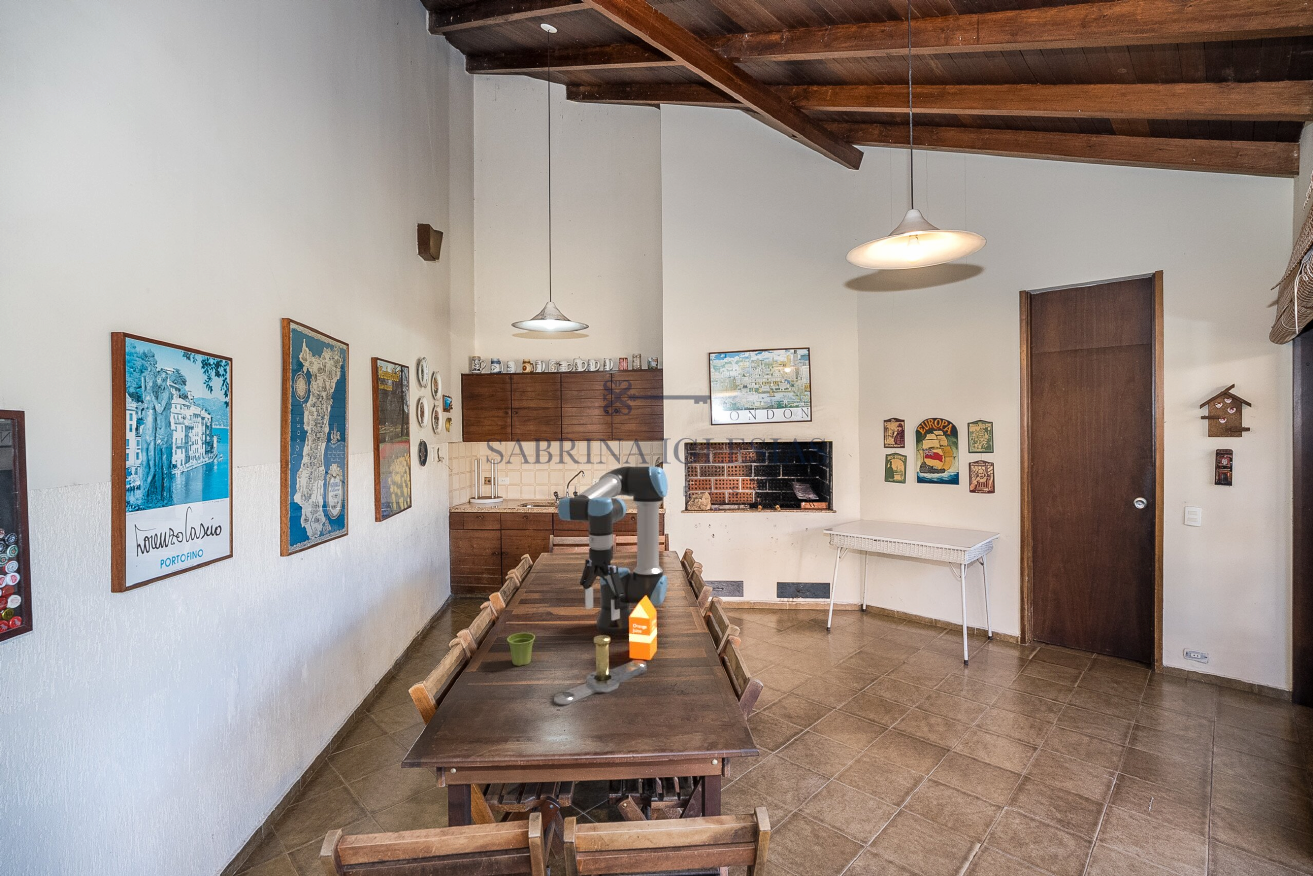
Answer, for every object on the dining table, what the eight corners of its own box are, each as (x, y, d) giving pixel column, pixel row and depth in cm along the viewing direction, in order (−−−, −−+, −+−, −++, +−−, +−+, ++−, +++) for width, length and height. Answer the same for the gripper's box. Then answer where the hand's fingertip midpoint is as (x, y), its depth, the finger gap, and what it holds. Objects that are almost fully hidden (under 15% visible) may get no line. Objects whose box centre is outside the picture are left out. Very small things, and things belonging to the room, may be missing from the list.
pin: (591, 684, 186) (590, 638, 186) (604, 679, 190) (603, 633, 189) (601, 690, 183) (600, 642, 182) (614, 685, 186) (613, 638, 185)
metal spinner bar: (565, 710, 171) (565, 702, 171) (546, 698, 178) (546, 690, 178) (654, 672, 194) (654, 665, 194) (634, 663, 202) (634, 656, 202)
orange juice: (657, 650, 213) (656, 595, 212) (650, 660, 205) (649, 603, 204) (636, 648, 215) (635, 594, 214) (629, 657, 207) (628, 601, 206)
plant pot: (540, 658, 207) (540, 634, 206) (526, 669, 198) (525, 644, 197) (517, 655, 210) (517, 631, 209) (502, 666, 201) (501, 641, 201)
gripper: (568, 542, 191) (569, 607, 193) (616, 556, 173) (617, 627, 174) (587, 539, 197) (588, 601, 198) (635, 551, 178) (636, 620, 179)
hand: (602, 613), depth 186 cm, fingers open, 13 cm apart
